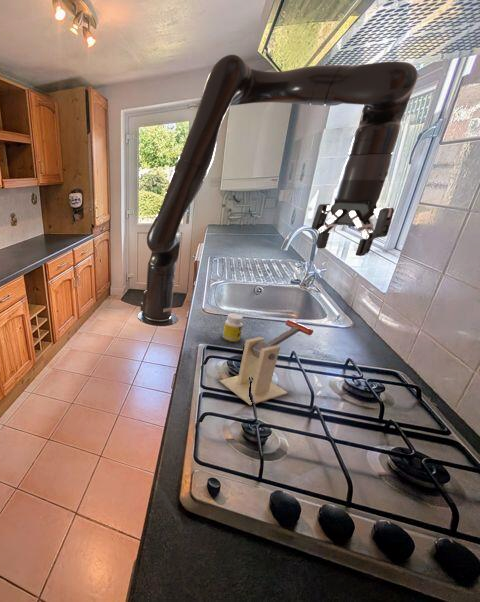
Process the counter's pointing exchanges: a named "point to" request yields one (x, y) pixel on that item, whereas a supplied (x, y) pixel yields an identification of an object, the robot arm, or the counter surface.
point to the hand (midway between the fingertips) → (339, 251)
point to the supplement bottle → (233, 328)
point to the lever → (282, 337)
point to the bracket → (256, 374)
